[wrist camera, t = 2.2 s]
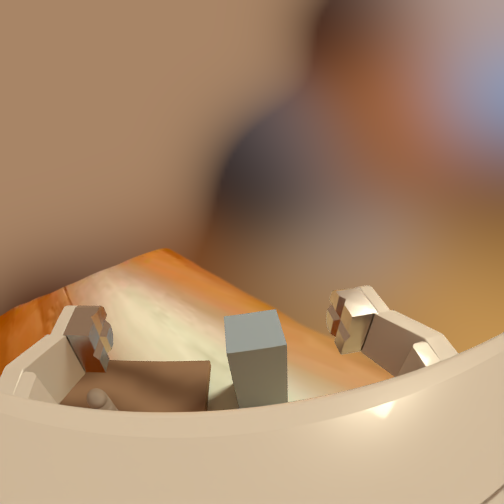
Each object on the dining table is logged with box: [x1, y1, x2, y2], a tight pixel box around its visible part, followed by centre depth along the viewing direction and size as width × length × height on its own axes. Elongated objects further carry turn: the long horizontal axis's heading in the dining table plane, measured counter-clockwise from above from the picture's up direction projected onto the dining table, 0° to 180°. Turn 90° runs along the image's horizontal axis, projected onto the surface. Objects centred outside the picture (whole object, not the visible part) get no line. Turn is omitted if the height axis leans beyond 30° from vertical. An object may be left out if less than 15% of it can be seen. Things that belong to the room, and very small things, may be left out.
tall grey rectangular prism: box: [224, 309, 288, 409], centre depth 28 cm, size 5×5×10 cm
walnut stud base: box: [59, 360, 211, 412], centre depth 24 cm, size 20×20×7 cm
